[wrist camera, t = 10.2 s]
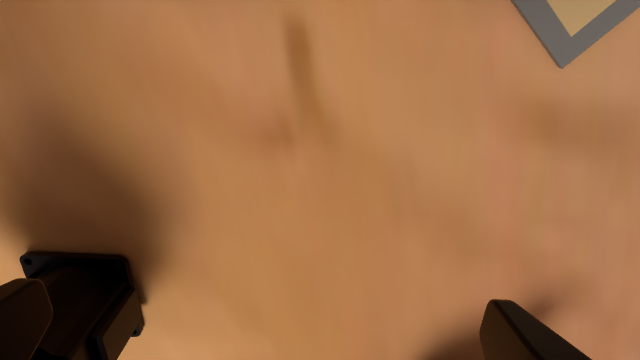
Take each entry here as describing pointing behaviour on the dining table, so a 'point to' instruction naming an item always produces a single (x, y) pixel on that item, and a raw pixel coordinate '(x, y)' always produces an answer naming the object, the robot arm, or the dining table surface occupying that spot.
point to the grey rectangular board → (572, 23)
